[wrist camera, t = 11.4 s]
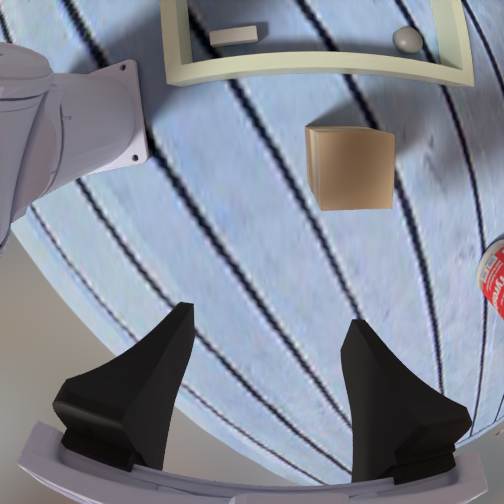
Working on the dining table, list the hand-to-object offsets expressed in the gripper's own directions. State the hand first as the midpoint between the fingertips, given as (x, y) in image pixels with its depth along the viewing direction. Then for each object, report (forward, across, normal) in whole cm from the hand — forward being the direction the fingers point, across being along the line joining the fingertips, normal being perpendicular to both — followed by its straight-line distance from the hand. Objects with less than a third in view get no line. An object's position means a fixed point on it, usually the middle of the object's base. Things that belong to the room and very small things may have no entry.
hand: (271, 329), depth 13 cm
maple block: (+10, -4, -7) cm, 13 cm away
